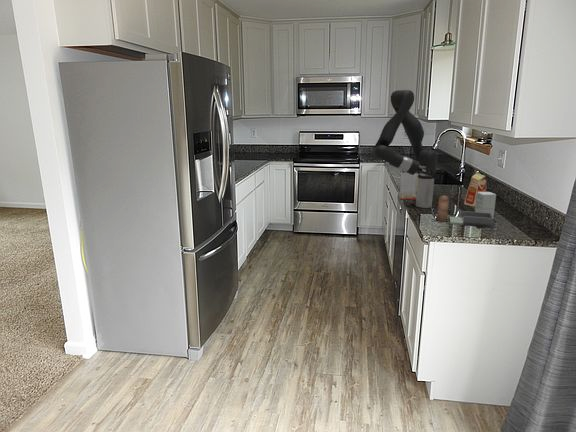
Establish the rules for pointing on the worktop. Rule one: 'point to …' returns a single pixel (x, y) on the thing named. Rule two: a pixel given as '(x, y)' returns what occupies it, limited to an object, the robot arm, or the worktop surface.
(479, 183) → the milk carton
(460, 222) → the cart bed
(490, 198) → the supplement box
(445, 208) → the yam
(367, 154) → the worktop surface
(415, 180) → the cracker box
